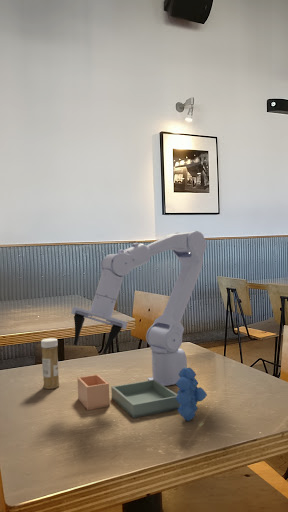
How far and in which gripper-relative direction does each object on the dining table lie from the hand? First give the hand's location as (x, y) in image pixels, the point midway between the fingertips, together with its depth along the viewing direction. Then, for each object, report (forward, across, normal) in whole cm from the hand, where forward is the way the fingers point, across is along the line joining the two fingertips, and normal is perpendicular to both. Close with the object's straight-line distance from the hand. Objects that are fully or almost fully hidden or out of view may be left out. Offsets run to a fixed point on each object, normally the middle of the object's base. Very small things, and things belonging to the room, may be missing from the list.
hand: (89, 349), depth 112 cm
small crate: (+12, +5, +1) cm, 13 cm away
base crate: (+9, +17, -2) cm, 19 cm away
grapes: (+8, +27, -14) cm, 31 cm away
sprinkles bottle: (+14, -8, +16) cm, 22 cm away
